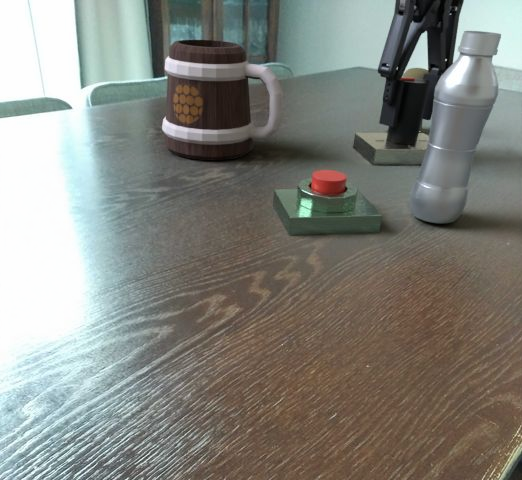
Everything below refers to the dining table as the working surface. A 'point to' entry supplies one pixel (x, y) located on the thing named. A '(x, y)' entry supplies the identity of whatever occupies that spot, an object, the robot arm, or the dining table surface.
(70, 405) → the dining table surface
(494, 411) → the dining table surface
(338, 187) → the button
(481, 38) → the plastic bottle
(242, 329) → the dining table surface
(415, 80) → the black battery
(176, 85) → the mug
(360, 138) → the base
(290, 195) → the button box
